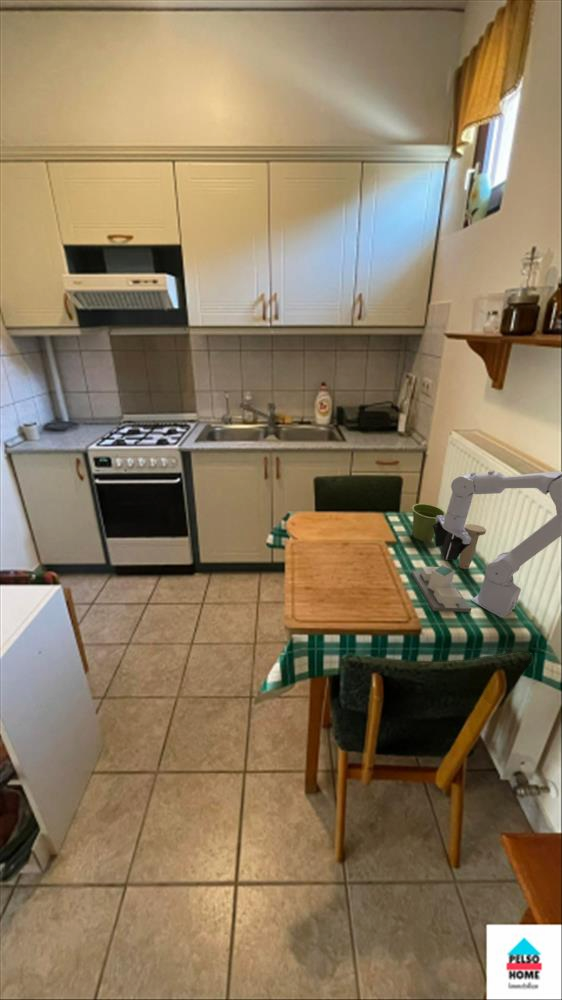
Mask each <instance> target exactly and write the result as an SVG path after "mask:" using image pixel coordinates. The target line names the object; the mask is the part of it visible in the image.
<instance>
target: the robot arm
mask: <svg viewBox="0 0 562 1000" xmlns="http://www.w3.org/2000/svg"><path fill="white" fill-rule="evenodd" d="M450 485H451V486H450V488H451V489H450V490H451V496H450V499H449V503H448V506H447V510H446V512H445V514H446V515H445V517H444V516H442V515H438V516H437V517H436V520H435V521H436V522H438V523H437V524H433V528H434V532H435V534H434V540H435V541H434V542H435V543H434V546H435V548H436V547H437V548H438V547H442V545H443V544H444V541H445V538H446V536H447V534H448V532H450V533H452V534H454V535H455V536H456V537H457V539H451V552H450V560H449V561H455V560H458V558H459V557H460V554H461V552H462V551H463V550H464V549H465V548H466V547H467V546H469V545H470V543H471V542H470V541H471V537H469V535H468V533H467V532H466V531H465V529H466V527H465V525H466V522H467V518H468V515H469V512H470V507H471V505H472V501H473V497H474V495H491V494H493V495H494V494H501V493H502V492H503V491H505V489H538V491H540V492H541V493H542V494H543V495H547V494H549V496H550V498H551V501H553V504H554V505H555V511H556V514H555V515H554V516H553V517H552V518H550V519H549V520H548V521H547V522H546V523H544V524H543V525H541V526H540V527H539V528H538V529H537V530H535V531H534V532H532V533H531V534H530V535H529V536H528V537H526V538H525V539H524V540H522V541H521V542H519V544H518V545H516V546H515V547H514V548H512V549H511V550H510V551H507V552H502V553H499V555H497V557H496V558H495V559H493V560H492V562H489V563H488V564H487V565H486V567H485V570H484V571H485V575H484V577H483V581H482V584H481V586H480V590H479V592H478V594H477V595H476V596H475V597H473V598H472V599H471V602H473V603H474V604H476V605H478V606H480V607H482V608H483V609H485V610H487V611H488V612H491V614H494V615H495V616H498V617H499V618H501V619H504V618H505V617H507V616H508V615H509V614H510V613H511V612H513V611H514V610H516V609H515V607H516V604H517V602H518V600H519V596H520V594H521V587H519V586H518V585H516V584H515V582H514V574H516V573H517V572H518V571H520V568H521V566H522V565H523V566H524V564H525V563H526V562H528V561H529V560H530V559H532V558H533V557H535V556H536V555H538V554H539V553H540V552H541V551H543V550H544V549H545V548H546V547H548V546H549V545H551V544H552V543H554V542H555V541H556V540H557V539H559V538H560V537H561V536H562V471H561V470H558V471H546V472H545V471H543V472H534V473H526V474H525V473H524V474H516V475H515V474H514V475H504V474H503V473H501V472H499V471H498V472H496V471H495V470H493V469H492V470H488V471H487V472H485V473H476V472H470V473H464V474H461V475H460V476H457V477H456V478H454V479H453V480H452V482H451V484H450ZM513 609H514V610H513ZM512 610H513V611H512Z"/></svg>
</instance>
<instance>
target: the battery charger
mask: <svg viewBox="0 0 562 1000" xmlns="http://www.w3.org/2000/svg"><path fill="white" fill-rule="evenodd" d="M451 539H457V537H456V536H455V535H454V534H452V533H450V532H448V534H447V536H446V538H445V541H444V544H443V545H442V546H441V548H440V551H441V555H442V559H444V560H445V561H451V560H450V552H451Z"/></svg>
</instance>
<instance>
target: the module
mask: <svg viewBox="0 0 562 1000" xmlns="http://www.w3.org/2000/svg"><path fill="white" fill-rule="evenodd" d="M437 567H438V568H436V569H434V570H433V571H432V573H431V577H430V581H429V584H428V588H429V589H431V590H433V591H434V592H435V588H450V586H451V583H452V582H453V579H454V578H455V577H454V575H455V572H456V570H454V569H452V568H451V567H448V566H447V565H445V564H441V565H440V566H437Z"/></svg>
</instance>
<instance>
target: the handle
mask: <svg viewBox="0 0 562 1000" xmlns="http://www.w3.org/2000/svg"><path fill="white" fill-rule="evenodd" d="M464 526H465V527H466V529H465V531H466V532H467V534H468V535H469V537H471V541H470V542H471V543H470V545H469V546H467V547H466V548H465V549H464V550H463V551H462V552H461V554H460V555H459V559H458V560H459V561H458V567H459V568H460V569H463V570H468V569H469V568H470V566H471V563H472V561H473V559H474V557H475V554H476V553H475V552H476V549H477V545H478V540H479V538H480V536H483V535H486V532H487V529H486V528H485V527H484V526H482V525H479V524H478V525H477V524H473V523H472V524H471V523H470V524H468V523H467V524H465V525H464Z"/></svg>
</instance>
